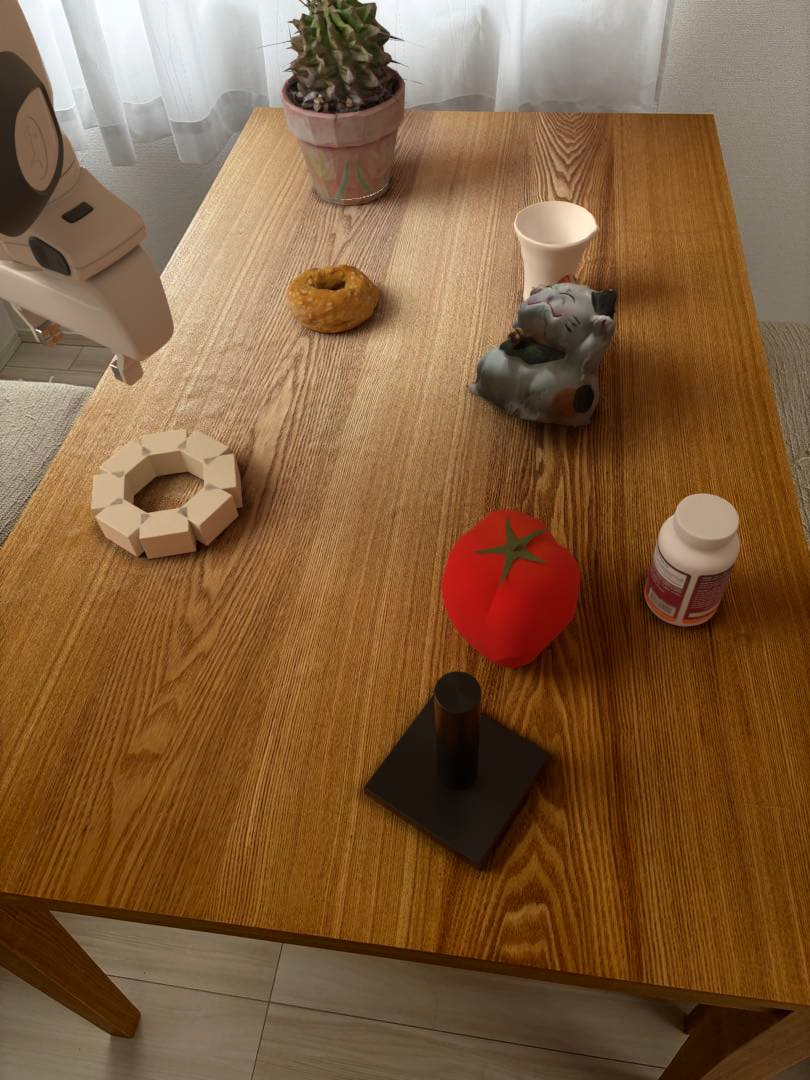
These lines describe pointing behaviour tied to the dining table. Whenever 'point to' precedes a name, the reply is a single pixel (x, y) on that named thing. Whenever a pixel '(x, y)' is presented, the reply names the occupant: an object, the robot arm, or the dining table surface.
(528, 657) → the tomato
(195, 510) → the ring
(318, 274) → the bagel
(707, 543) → the pill bottle
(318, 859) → the dining table surface
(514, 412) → the lucky cat figurine
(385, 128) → the potted plant
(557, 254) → the cup
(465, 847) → the post
